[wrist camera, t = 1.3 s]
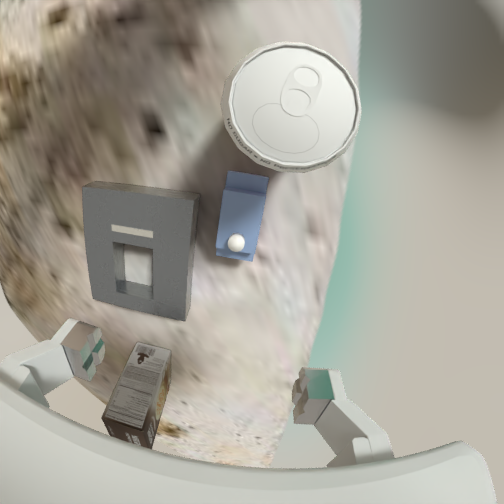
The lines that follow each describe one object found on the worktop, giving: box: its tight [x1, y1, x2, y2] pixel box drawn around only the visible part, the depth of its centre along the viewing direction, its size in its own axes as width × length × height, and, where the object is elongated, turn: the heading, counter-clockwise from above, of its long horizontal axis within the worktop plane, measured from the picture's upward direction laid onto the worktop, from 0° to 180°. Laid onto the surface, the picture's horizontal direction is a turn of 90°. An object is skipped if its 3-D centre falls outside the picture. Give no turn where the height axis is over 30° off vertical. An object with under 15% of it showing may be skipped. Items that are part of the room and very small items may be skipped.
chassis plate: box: [82, 181, 200, 321], centre depth 32 cm, size 16×14×3 cm
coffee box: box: [102, 342, 171, 449], centre depth 35 cm, size 9×6×16 cm
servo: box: [216, 170, 269, 261], centre depth 28 cm, size 9×4×6 cm, turn 170°
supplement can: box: [221, 42, 362, 173], centre depth 19 cm, size 8×8×15 cm
